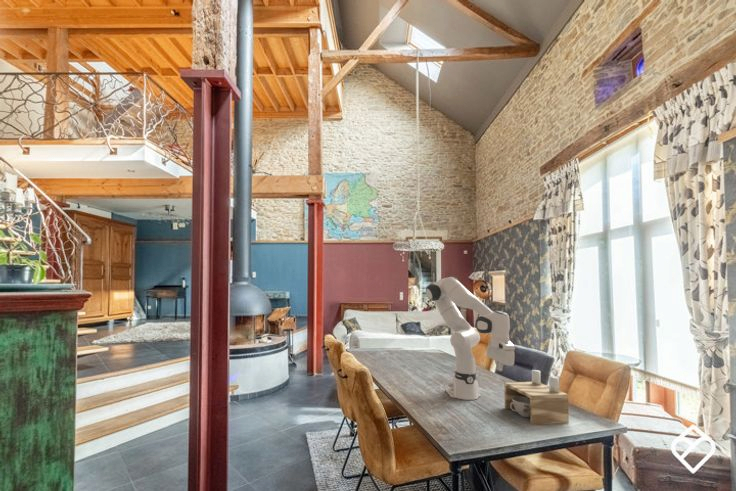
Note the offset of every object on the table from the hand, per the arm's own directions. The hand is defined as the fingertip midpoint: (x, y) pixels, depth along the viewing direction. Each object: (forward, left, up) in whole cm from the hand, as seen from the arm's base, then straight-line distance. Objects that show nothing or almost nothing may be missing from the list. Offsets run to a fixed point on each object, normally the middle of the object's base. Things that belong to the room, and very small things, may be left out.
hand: (499, 370), depth 194 cm
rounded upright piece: (-7, +26, -9) cm, 28 cm away
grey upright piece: (+7, +26, -9) cm, 29 cm away
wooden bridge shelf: (0, +20, -23) cm, 30 cm away
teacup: (0, +14, -23) cm, 27 cm away
